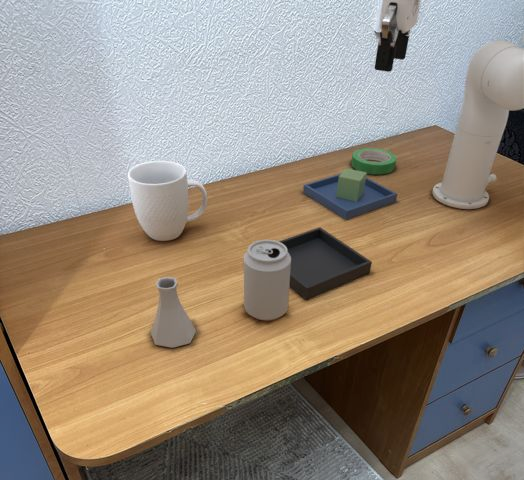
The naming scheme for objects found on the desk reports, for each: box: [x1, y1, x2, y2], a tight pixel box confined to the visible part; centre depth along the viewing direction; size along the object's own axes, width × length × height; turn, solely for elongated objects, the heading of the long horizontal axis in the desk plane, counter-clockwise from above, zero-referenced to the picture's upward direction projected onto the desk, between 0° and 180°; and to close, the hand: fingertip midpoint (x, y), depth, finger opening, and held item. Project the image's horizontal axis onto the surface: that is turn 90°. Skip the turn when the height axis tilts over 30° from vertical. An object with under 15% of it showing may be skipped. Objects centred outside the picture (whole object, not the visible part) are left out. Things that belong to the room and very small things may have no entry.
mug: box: [127, 160, 209, 242], centre depth 101 cm, size 15×11×13 cm
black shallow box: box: [278, 226, 373, 301], centre depth 96 cm, size 15×15×2 cm
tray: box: [302, 173, 398, 220], centre depth 117 cm, size 15×15×2 cm
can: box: [243, 239, 291, 321], centre depth 83 cm, size 8×8×12 cm
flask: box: [150, 276, 197, 349], centre depth 78 cm, size 7×7×10 cm
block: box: [336, 167, 368, 202], centre depth 116 cm, size 5×5×5 cm
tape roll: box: [350, 147, 397, 176], centre depth 130 cm, size 11×11×3 cm
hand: (390, 64), depth 97 cm, fingers open, 9 cm apart
